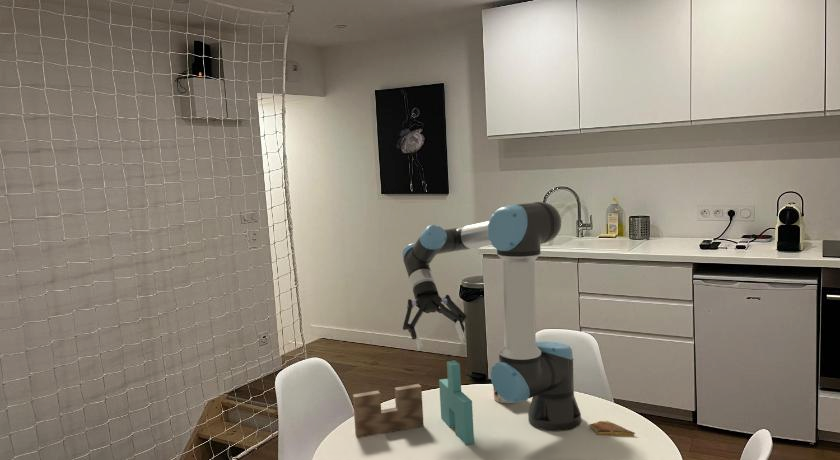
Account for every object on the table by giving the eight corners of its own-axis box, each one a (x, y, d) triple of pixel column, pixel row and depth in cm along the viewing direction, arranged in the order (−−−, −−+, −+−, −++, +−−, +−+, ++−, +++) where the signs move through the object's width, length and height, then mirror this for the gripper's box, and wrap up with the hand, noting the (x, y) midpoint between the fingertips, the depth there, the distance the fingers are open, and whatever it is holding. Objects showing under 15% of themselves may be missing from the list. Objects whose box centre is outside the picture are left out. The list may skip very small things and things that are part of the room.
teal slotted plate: (441, 418, 190) (437, 354, 188) (448, 416, 191) (445, 352, 189) (465, 444, 171) (462, 373, 169) (474, 443, 172) (470, 372, 170)
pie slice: (635, 438, 171) (635, 431, 170) (615, 445, 167) (615, 439, 167) (606, 424, 180) (605, 418, 180) (586, 431, 176) (586, 425, 176)
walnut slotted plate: (421, 422, 188) (418, 383, 186) (423, 425, 185) (421, 386, 184) (355, 434, 182) (352, 394, 181) (357, 437, 179) (354, 397, 178)
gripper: (457, 289, 206) (477, 345, 193) (384, 297, 199) (399, 356, 186) (462, 275, 201) (483, 332, 188) (387, 284, 193) (403, 343, 180)
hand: (442, 344), depth 187 cm, fingers open, 13 cm apart
